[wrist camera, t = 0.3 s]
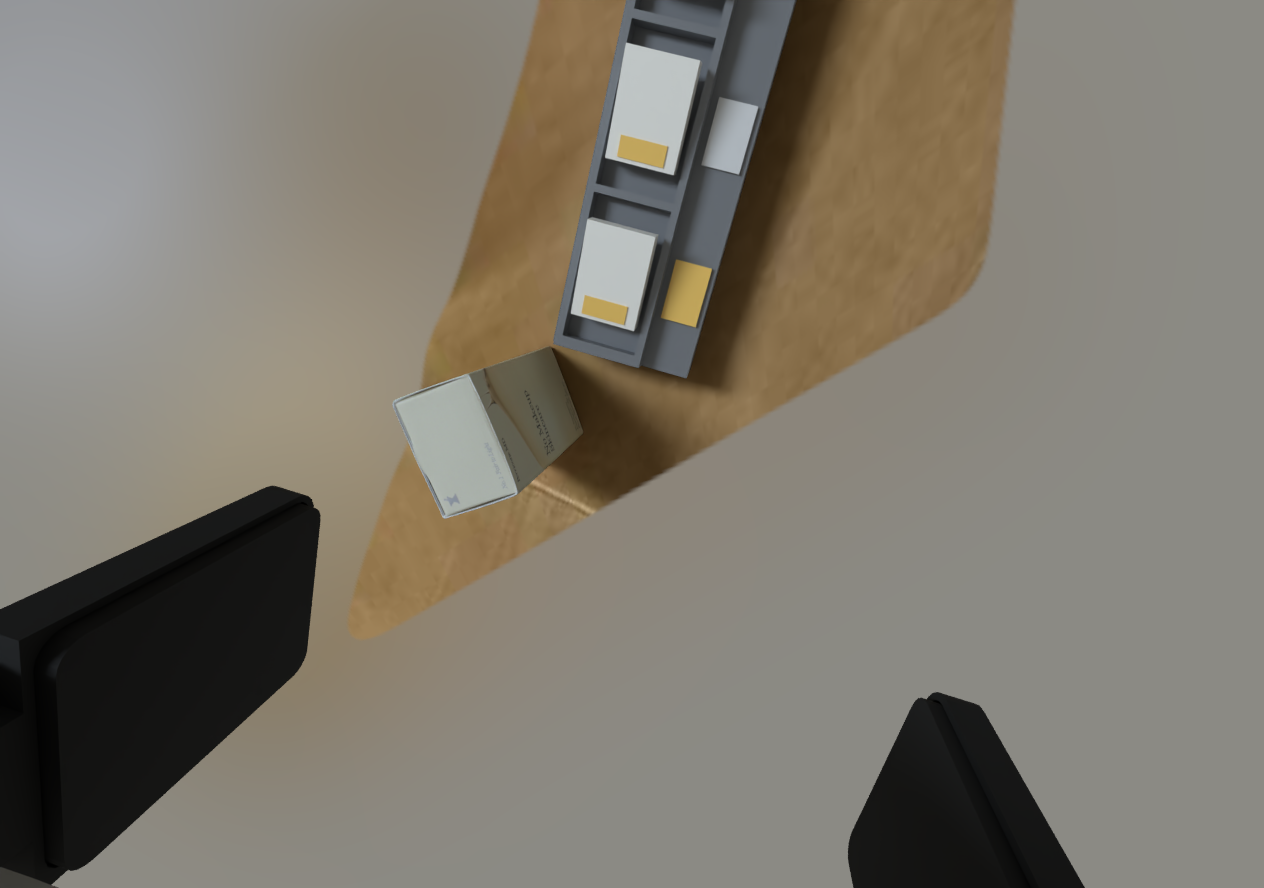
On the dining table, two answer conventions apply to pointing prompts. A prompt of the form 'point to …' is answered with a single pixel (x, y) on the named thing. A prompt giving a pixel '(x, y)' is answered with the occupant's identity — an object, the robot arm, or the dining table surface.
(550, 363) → the skincare box
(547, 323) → the dining table surface
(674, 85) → the block
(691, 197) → the switch unit
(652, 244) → the block
